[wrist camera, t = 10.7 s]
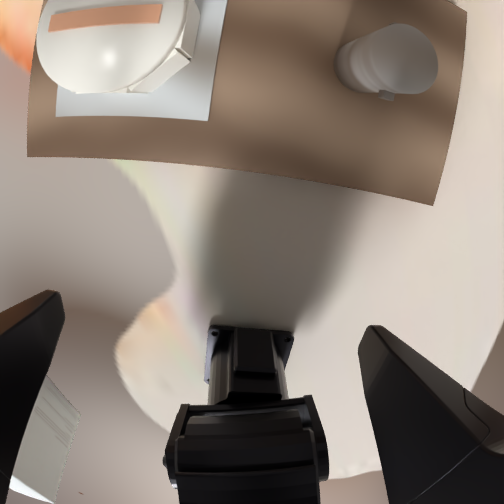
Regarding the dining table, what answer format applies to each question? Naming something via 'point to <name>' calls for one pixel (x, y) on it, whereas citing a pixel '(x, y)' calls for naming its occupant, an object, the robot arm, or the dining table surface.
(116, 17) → the cap
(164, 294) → the dining table surface
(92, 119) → the post board
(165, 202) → the dining table surface
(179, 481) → the robot arm
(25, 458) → the supplement box
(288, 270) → the dining table surface
